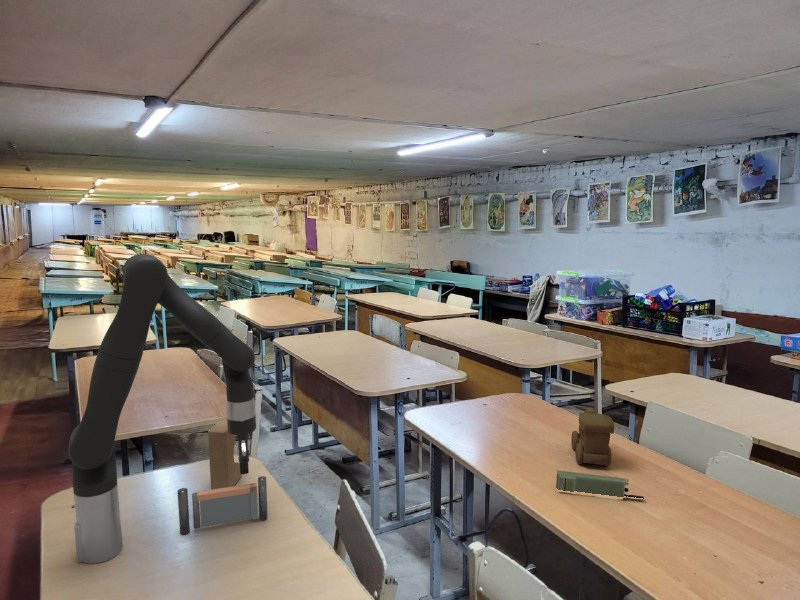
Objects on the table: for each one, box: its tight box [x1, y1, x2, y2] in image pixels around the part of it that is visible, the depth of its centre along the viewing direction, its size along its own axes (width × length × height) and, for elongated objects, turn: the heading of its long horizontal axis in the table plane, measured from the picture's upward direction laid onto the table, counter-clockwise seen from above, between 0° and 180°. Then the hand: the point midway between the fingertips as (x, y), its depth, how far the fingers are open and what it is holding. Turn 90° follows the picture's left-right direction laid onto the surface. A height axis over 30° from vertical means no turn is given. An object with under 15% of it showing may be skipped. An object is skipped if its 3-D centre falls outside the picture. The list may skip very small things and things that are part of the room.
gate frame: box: [177, 475, 268, 536], centre depth 140 cm, size 22×3×12 cm, turn 110°
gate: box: [191, 482, 259, 530], centre depth 140 cm, size 16×2×9 cm, turn 110°
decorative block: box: [207, 416, 243, 490], centre depth 160 cm, size 11×6×20 cm, turn 175°
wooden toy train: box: [570, 407, 615, 467], centre depth 181 cm, size 20×11×17 cm, turn 170°
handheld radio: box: [555, 469, 645, 500], centre depth 158 cm, size 7×3×25 cm
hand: (244, 472), depth 146 cm, fingers closed
